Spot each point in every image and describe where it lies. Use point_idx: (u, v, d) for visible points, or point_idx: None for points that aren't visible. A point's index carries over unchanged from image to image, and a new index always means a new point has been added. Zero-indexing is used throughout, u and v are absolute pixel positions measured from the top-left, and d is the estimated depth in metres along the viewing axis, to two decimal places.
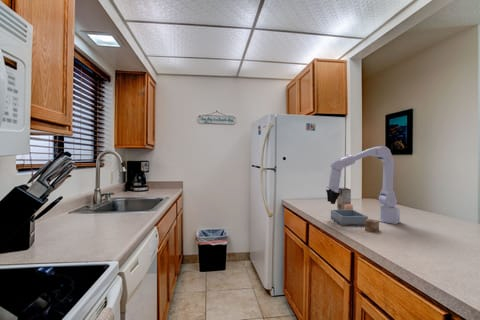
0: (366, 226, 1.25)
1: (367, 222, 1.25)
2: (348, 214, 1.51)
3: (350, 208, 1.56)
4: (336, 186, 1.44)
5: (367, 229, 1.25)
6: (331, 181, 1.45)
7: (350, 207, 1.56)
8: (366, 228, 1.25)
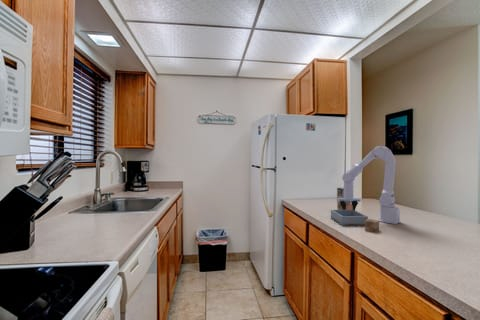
0: (366, 226, 1.25)
1: (367, 222, 1.25)
2: (348, 214, 1.51)
3: (350, 208, 1.56)
4: (344, 196, 1.57)
5: (367, 229, 1.25)
6: None
7: (350, 207, 1.56)
8: (366, 228, 1.25)
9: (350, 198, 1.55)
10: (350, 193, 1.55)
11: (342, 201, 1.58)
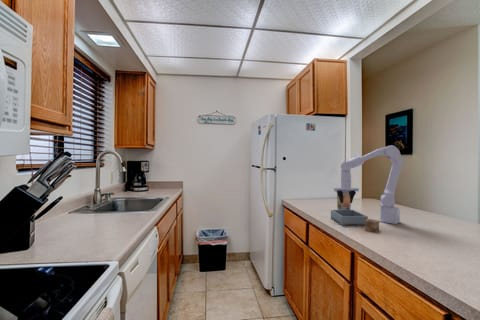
0: (366, 226, 1.25)
1: (367, 222, 1.25)
2: (348, 214, 1.51)
3: (347, 198, 1.49)
4: (342, 186, 1.51)
5: (367, 229, 1.25)
6: None
7: (347, 197, 1.49)
8: (366, 228, 1.25)
9: (347, 187, 1.49)
10: (347, 182, 1.49)
11: (339, 191, 1.51)
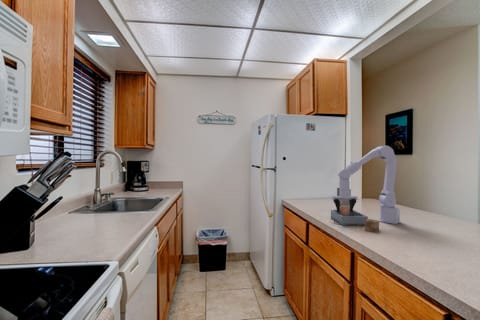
0: (366, 226, 1.25)
1: (367, 222, 1.25)
2: None
3: (346, 210, 1.45)
4: (340, 194, 1.47)
5: (367, 229, 1.25)
6: None
7: (346, 209, 1.45)
8: (366, 228, 1.25)
9: (346, 196, 1.45)
10: (346, 191, 1.45)
11: (337, 199, 1.47)
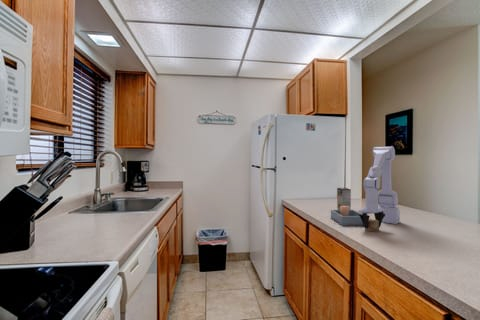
0: None
1: None
2: None
3: (346, 210, 1.45)
4: (368, 207, 1.24)
5: (367, 229, 1.25)
6: None
7: (346, 209, 1.45)
8: None
9: (376, 209, 1.23)
10: (376, 203, 1.23)
11: (366, 213, 1.24)
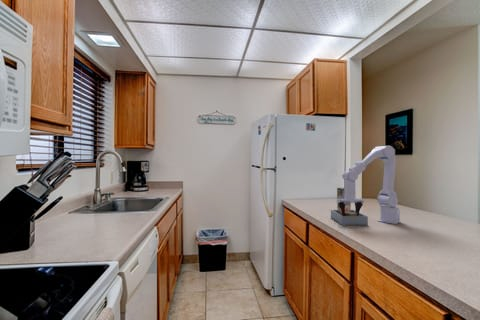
0: None
1: (345, 213, 1.40)
2: None
3: (345, 210, 1.45)
4: (345, 197, 1.39)
5: None
6: None
7: (345, 209, 1.45)
8: None
9: (352, 199, 1.37)
10: (352, 193, 1.37)
11: (343, 202, 1.39)
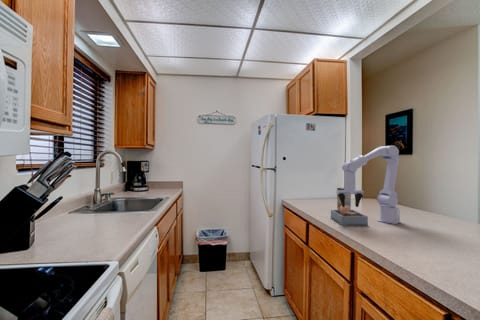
0: None
1: (345, 213, 1.40)
2: None
3: (345, 210, 1.45)
4: (345, 188, 1.39)
5: None
6: None
7: (345, 209, 1.45)
8: None
9: (352, 190, 1.37)
10: (352, 184, 1.37)
11: (343, 194, 1.39)
